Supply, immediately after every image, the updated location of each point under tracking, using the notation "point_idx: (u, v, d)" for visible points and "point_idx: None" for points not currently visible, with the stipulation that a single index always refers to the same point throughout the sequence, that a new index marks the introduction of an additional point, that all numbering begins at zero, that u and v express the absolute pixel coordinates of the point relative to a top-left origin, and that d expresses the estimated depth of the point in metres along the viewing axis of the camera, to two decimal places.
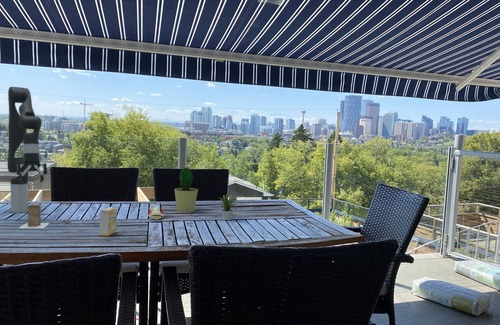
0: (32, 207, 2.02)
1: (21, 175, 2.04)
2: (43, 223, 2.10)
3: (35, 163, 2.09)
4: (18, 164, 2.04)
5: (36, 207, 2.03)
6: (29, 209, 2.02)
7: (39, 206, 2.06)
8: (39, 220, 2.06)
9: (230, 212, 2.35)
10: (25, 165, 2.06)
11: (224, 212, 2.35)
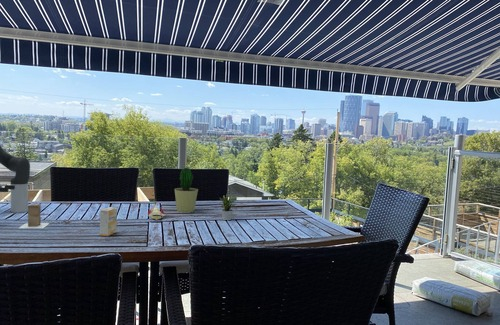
0: (32, 207, 2.02)
1: None
2: (43, 223, 2.10)
3: None
4: None
5: (36, 207, 2.03)
6: (29, 209, 2.02)
7: (39, 206, 2.06)
8: (39, 220, 2.06)
9: (230, 212, 2.35)
10: None
11: (224, 212, 2.35)
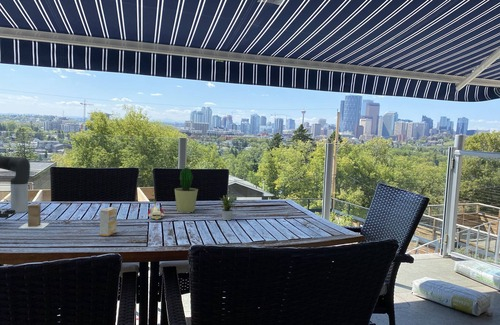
0: (32, 207, 2.02)
1: None
2: (43, 223, 2.10)
3: None
4: None
5: (36, 207, 2.03)
6: (29, 209, 2.02)
7: (39, 206, 2.06)
8: (39, 220, 2.06)
9: (230, 212, 2.35)
10: None
11: (224, 212, 2.35)
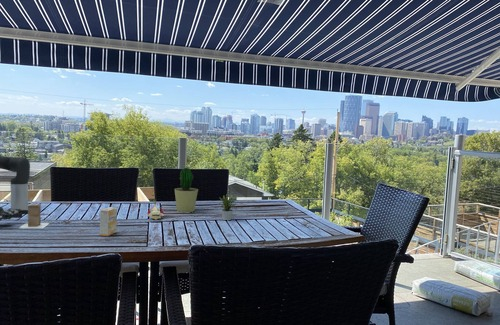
0: (32, 207, 2.02)
1: None
2: (43, 223, 2.10)
3: None
4: None
5: (36, 207, 2.03)
6: (29, 209, 2.02)
7: (39, 206, 2.06)
8: (39, 220, 2.06)
9: (230, 212, 2.35)
10: None
11: (224, 212, 2.35)
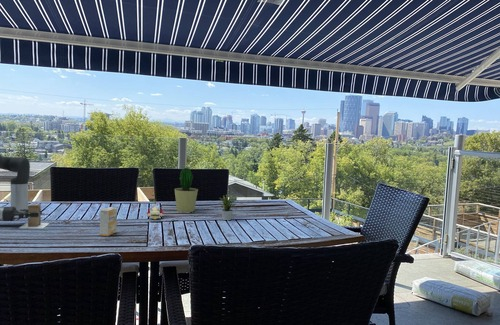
0: (32, 207, 2.02)
1: None
2: (43, 223, 2.10)
3: None
4: None
5: (36, 207, 2.03)
6: (29, 209, 2.02)
7: (39, 206, 2.06)
8: (39, 220, 2.06)
9: (230, 212, 2.35)
10: None
11: (224, 212, 2.35)
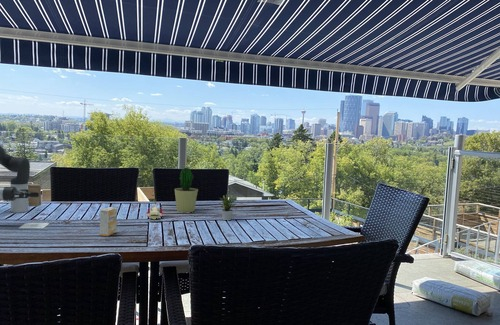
0: (32, 187, 2.02)
1: None
2: (43, 223, 2.10)
3: None
4: None
5: (36, 187, 2.02)
6: (29, 189, 2.01)
7: (39, 186, 2.05)
8: (39, 200, 2.06)
9: (230, 212, 2.35)
10: None
11: (224, 212, 2.35)
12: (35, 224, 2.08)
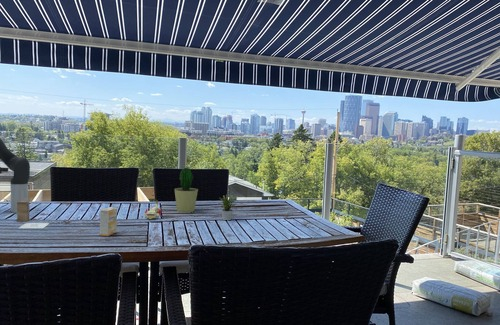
0: (21, 203, 2.11)
1: None
2: (43, 223, 2.10)
3: None
4: None
5: (25, 203, 2.11)
6: (18, 205, 2.11)
7: (28, 203, 2.14)
8: (28, 216, 2.15)
9: (230, 212, 2.35)
10: None
11: (224, 212, 2.35)
12: (35, 224, 2.08)
